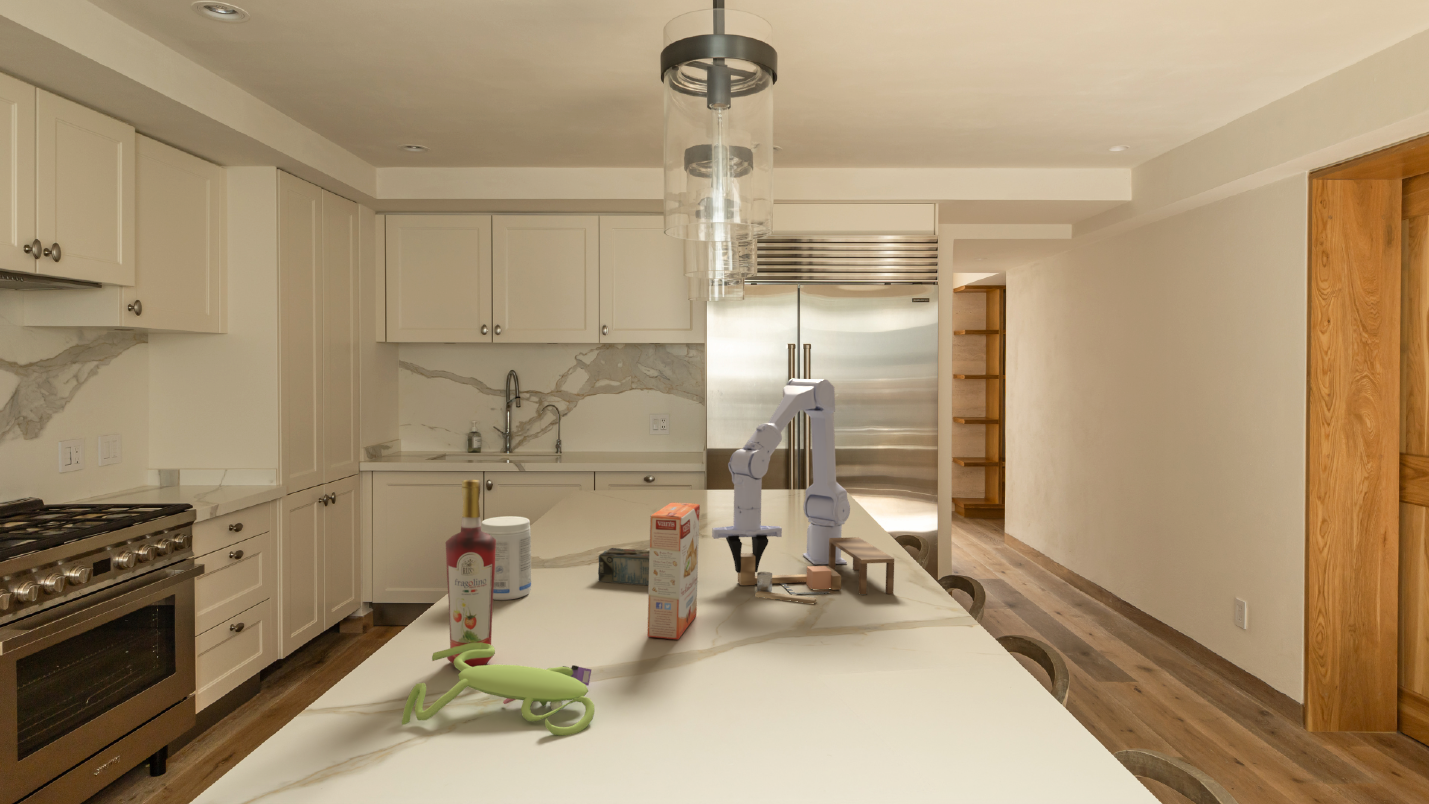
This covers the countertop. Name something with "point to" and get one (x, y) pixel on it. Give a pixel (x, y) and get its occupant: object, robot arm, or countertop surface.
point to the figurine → (510, 686)
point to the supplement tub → (510, 555)
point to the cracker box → (673, 569)
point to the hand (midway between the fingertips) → (746, 571)
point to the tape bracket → (802, 592)
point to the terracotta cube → (818, 577)
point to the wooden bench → (862, 559)
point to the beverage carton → (624, 566)
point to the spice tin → (764, 581)
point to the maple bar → (785, 597)
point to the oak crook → (749, 576)
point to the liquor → (470, 577)
